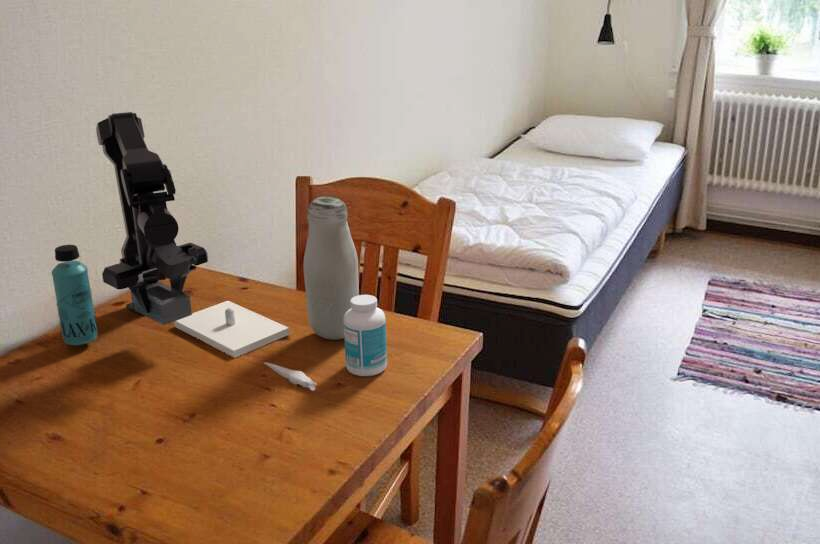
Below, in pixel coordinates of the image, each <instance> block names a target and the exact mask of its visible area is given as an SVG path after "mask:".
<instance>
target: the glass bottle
mask: <svg viewBox="0 0 820 544" xmlns="http://www.w3.org/2000/svg"><path fill="white" fill-rule="evenodd" d="M307 209H308V210H307V217H306V218H307V222H308V233H307V239H306V245H305V249H304V256H303V278H304V287H305V288H304V289H305V297H306V313H307V318H308V323H309V326H310V328H311V330H312V331H313V332H314V333H315V334H316V335H317V336H319V337H322V338H323V339H325V340H332V341H333V340H337V341H338V340H342V339H344V315H345V313H346V312H347V311H348V310H349V309H351V304H350V300H351V299H352V298H353V297H355V296H358V295H360V289H359V286H360V283H359V259H358V254H357V249H356V247H355V243H354V240H353V238H352V235H351V231H350V228H349V223H348V209H347V205H346V203H345V202H344V201H343V200H341V199H339V198H337V197H334V196H319V197H317V198H316V197H315V198H314V199H313V200H312V201H311V202H310V204H309V206H308V208H307Z"/></svg>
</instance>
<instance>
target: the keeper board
mask: <svg viewBox="0 0 820 544" xmlns="http://www.w3.org/2000/svg"><path fill="white" fill-rule="evenodd" d="M173 323H174V327H175V328H176V329H179V330H180V331H182V332H184V333H186V334H188V335H190V336H192V337H194V338H195V337H196V339H198V340H199V339H200V341H201V340H202V341H201V342H204V343H205V344H207V345H209V346H210V347H213V348H215V349H217V350H219V351H221V352H223V353H224V352H225V354H226V355H228V356H230V357H233V358H234V359H235V358H238V357H241V356H244V355H245V354H247V353H249V352H252V351H255V350H257V349H259V348H261V347H264V346H266V345H269V344H271V343H273V342H276V341H277V340H280V339H282V338H285V337H287V336H289V335H290V328H289V326H286V325H284V324H281V323H279V322H276V321H275V320H272V319H270V318H267V317H266V316H263V315H262V314H259V313H257V312H255V311H252V310H250V309H248V308H246V307H243V306H241V305H239V304H236V303H234V302H233V301H230V300H226V301H223V302H220V303H218V304H214V305H211V306H210V307H207V308H203V309H201V310H198V311H195V312H192V315H190V316H188V317H185V318H182V319H180V320H177V321H174V322H173ZM240 355H241V356H240Z"/></svg>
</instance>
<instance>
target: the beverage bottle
mask: <svg viewBox="0 0 820 544" xmlns="http://www.w3.org/2000/svg"><path fill="white" fill-rule="evenodd" d="M54 254H55V255H54V258H55V261H57V262H60V263H57V265H55V267H54V268H53V269H52V270H51V276H52V281H53V288H54V293H55V298H56V299H55V300H56V307H57V308H56V310H57V314H58V315H57V317H58V319H59V322H58V323H59V328H60V331H61V337H62V340H63V342H64V343H65V344H66V345H70V346H71V345H72V346H80V345H85V344H88V343H90V342H93V341H94V340H96V339H97V338H98V333H99V332H98V322H97V316H96V312H95V306H94V301H93V295H92V288H91V285H90V277H89V272H88V266H87V265H86V264H85V263H82V262H81V261H78V260H77V259H79V258H80V252H79V249H78V247H77V245H75V244H63V245H60V246H59V245H58V246H57V247H55V249H54Z"/></svg>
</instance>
